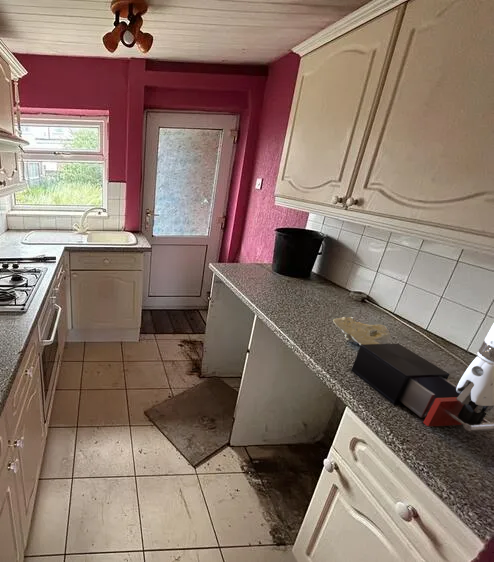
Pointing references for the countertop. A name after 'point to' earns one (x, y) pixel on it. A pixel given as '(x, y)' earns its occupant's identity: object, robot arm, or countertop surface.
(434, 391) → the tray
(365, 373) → the black drawer housing
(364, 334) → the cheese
